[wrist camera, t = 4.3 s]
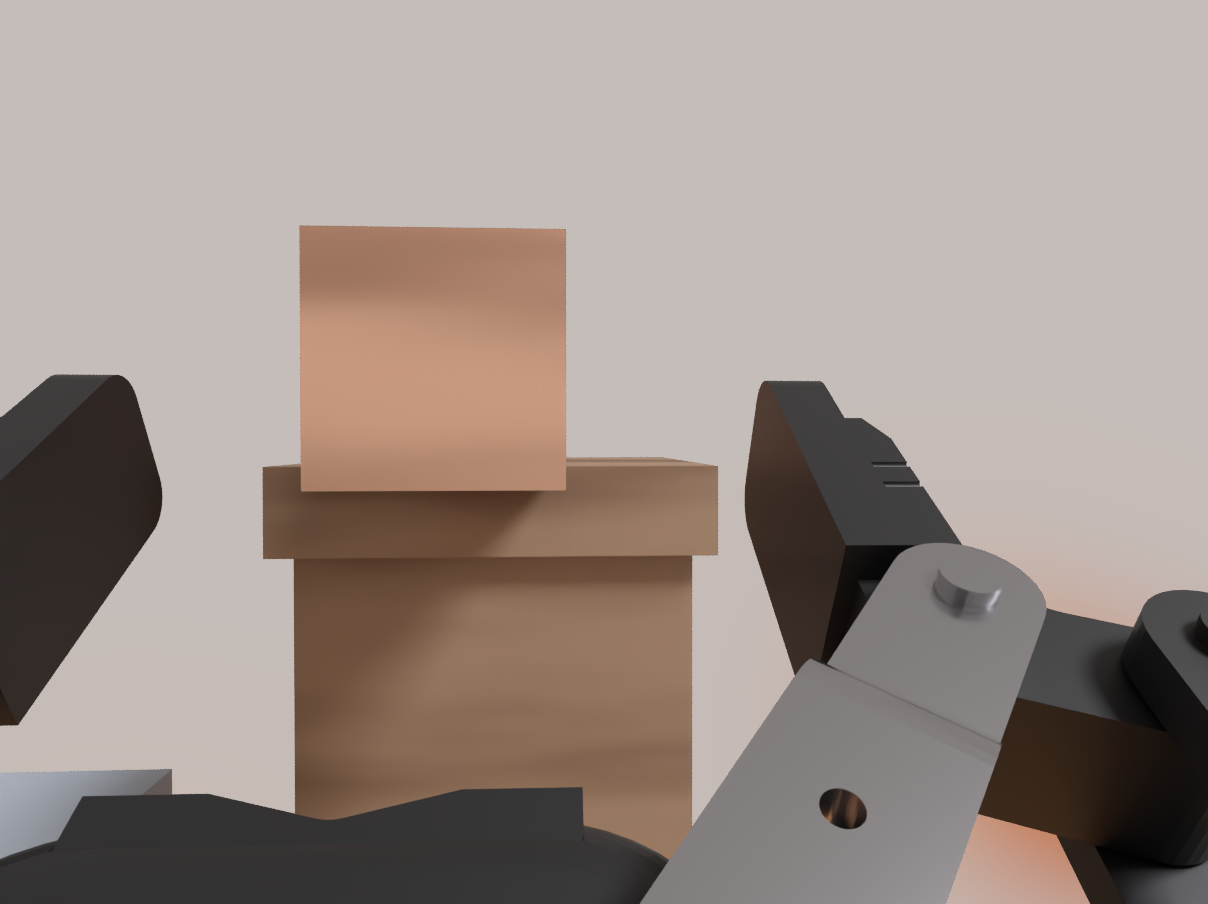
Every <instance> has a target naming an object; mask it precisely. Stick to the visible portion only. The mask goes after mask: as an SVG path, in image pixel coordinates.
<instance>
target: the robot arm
mask: <svg viewBox="0 0 1208 904" xmlns="http://www.w3.org/2000/svg"><path fill="white" fill-rule="evenodd" d="M906 463H907V462H906V460H905V459H904V457H903V456H902V454H901V453H900V451H899V450H898V448H897V447H896V446H895V444H894V442H893V441H892V440H891V438H889V437H888V436H886V435H885V434H884V433H882V432H880V431H879V430H878V429H876V428H875V427H873V426H872V425H870V424H869V423H868V422H866V421H865V420H863V419H862V418H844V417H843V415H842V413H841V411H840V410H839V408H838V406H837V405H836V403H835V402H834V400H833V398H832V396H831V395H830V393H829V391H828V390H827V388H826V387H825V385H824V384H823V383H822V382H821V381H764V382H763V383H762V384H761V387H760V389H759V393H758V398H757V403H756V411H755V418H754V425H753V433H752V440H751V448H750V454H749V462H748V469H747V476H746V485H745V514H746V522H747V527H748V531H749V534H750V537H751V540H752V543H753V546H754V550H755V553H756V556H757V559H758V562H759V565H760V568H761V571H762V575H763V578H764V581H765V584H766V587H767V590H768V593H769V596H770V600H771V603H772V606H773V609H774V612H775V615H776V618H777V621H778V624H779V628H780V631H781V634H782V637H783V640H784V643H785V646H786V649H787V652H788V656H789V659H790V662H791V665H792V668H793V671H794V674H795V677H794V678H793V680H792V681H791V683H790V684H789V685H788V687H787V689H786V690H785V691H784V693H783V694H782V696H781V697H780V699H779V700H778V702H777V703H776V705H775V706H774V708H773V709H772V710H771V712H770V713H769V715H768V716H767V718H766V719H765V721H764V722H763V724H762V725H761V727H760V728H759V730H758V731H757V732H756V734H755V735H754V737H753V738H752V740H751V741H750V743H749V744H748V746H747V747H746V749H745V750H744V751H743V753H742V754H741V756H740V758H739V759H738V760H737V762H736V763H735V765H734V767H733V768H732V769H731V771H730V772H729V774H728V775H727V776H726V778H725V780H724V781H723V782H722V784H721V785H720V787H719V788H718V790H717V791H716V793H715V794H714V795H713V797H712V798H711V800H710V802H709V803H708V804H707V806H706V807H705V809H704V810H703V812H702V813H701V815H700V816H699V817H698V819H697V821H696V822H695V823H694V825H693V826H692V828H691V829H690V831H689V832H688V834H687V835H686V837H685V838H684V839H683V841H682V842H681V844H680V845H679V847H678V848H677V850H676V851H675V853H674V854H673V856H672V857H671V858H670V860H669V859H667V858H666V857H664V856H663V855H661V854H659V853H657V852H655V851H653V850H651V849H649V848H647V847H645V846H643V845H641V844H639V843H637V842H635V841H633V840H631V839H628V838H625V837H622V836H620V835H617V834H614V833H611V832H608V831H605V830H601V829H597V828H593V827H589V826H585V825H584V821H583V787H558V788H503V789H461V790H457V791H453V792H449V793H445V794H441V795H436V796H432V797H428V798H424V799H420V800H416V801H411V802H407V803H403V804H399V805H395V806H391V807H386V808H382V809H378V810H374V811H370V812H366V813H361V814H357V815H353V816H349V817H345V818H340V819H334V820H323V819H316V818H311V817H307V816H302V815H298V814H294V813H289V812H285V811H280V810H276V809H272V808H267V807H263V806H259V805H254V804H250V803H246V802H241V801H237V800H232V799H228V798H223V797H219V796H215V795H211V794H178V795H176V794H175V795H120V796H82V798H81V799H80V801H79V803H78V805H77V807H76V808H75V810H74V812H73V814H72V815H71V817H70V819H69V821H68V823H67V824H66V826H65V828H64V830H63V831H62V833H61V835H60V837H59V839H58V840H57V841H53V842H49V843H45V844H42V845H39V846H35V847H32V848H29V849H26V850H23V851H20V852H17V853H14V854H11V855H9V856H6V857H4V858H1V859H0V904H946V902H947V899H948V897H949V893H950V891H951V888H952V885H953V882H954V880H955V877H956V874H957V871H958V868H959V865H960V862H961V860H962V857H963V854H964V851H965V848H966V846H967V843H968V840H969V837H970V834H971V831H972V829H973V826H974V823H975V820H976V817H977V815H978V814H981V815H984V816H988V817H991V818H995V819H999V820H1003V821H1006V822H1011V823H1014V824H1018V825H1021V826H1025V827H1029V828H1033V829H1037V830H1040V831H1044V832H1048V833H1051V834H1055V835H1057V837H1058V839H1059V841H1060V843H1061V845H1062V847H1063V849H1064V851H1065V853H1066V855H1067V858H1068V860H1069V862H1070V864H1071V865H1072V867H1073V870H1074V872H1075V874H1076V876H1077V878H1078V880H1079V882H1080V884H1081V886H1082V888H1083V890H1084V892H1085V894H1086V896H1087V898H1088V900H1089V902H1090V904H1208V593H1206V592H1200V591H1190V590H1173V591H1167V592H1162V593H1159V594H1157V595H1155V596H1153V597H1151V598H1150V599H1148V601H1147V602H1146V603H1145V605H1144V606H1143V608H1142V611H1141V613H1140V615H1139V617H1138V619H1137V621H1136V623H1135V625H1134V627H1129V626H1124V625H1119V624H1114V623H1110V622H1104V621H1100V620H1095V619H1091V618H1086V617H1080V616H1076V615H1071V614H1066V613H1062V612H1058V611H1054V610H1051V609H1048V608H1046V602H1045V599H1044V597H1043V594H1042V592H1041V591H1040V590H1039V588H1038V586H1037V585H1036V584H1035V583H1034V582H1033V581H1032V580H1031V579H1030V578H1029V577H1028V576H1027V575H1026V574H1025V573H1024V572H1022V571H1021V570H1020V569H1019V568H1017V567H1015V566H1014V565H1012V564H1011V563H1009V562H1008V561H1006V560H1004V559H1001V558H1000V557H998V556H996V555H993V554H991V553H988V552H986V551H983V550H979V549H976V548H973V547H969V546H964V545H962V544H961V542H960V541H959V539H958V538H957V537H956V535H955V533H954V532H953V530H952V529H951V527H950V526H949V525H948V523H947V521H946V520H945V519H944V517H943V516H942V514H941V513H940V511H939V510H938V508H937V507H936V505H935V504H934V502H933V501H932V499H931V498H930V496H929V495H928V493H927V492H926V490H925V489H924V487H920V485H919V482H920V481H919V480H918V478H917V477H916V475H915V474H914V472H913V471H912V470H911V468H910V467H907V466H906ZM161 507H162V487H161V482H160V477H159V474H158V470H157V467H156V463H155V460H154V457H153V453H152V449H151V446H150V443H149V439H148V436H147V432H146V429H145V425H144V422H143V418H142V415H141V411H140V408H139V404H138V401H137V397H136V395H135V392H134V390H133V387H132V386H131V384H130V383H129V381H128V380H126V379H125V378H124V377H123V376H120V375H53V376H51V377H49V378H48V379H46V380H45V381H44V382H43V383H42V384H40V385H39V386H38V387H37V388H36V389H34V390H33V391H32V392H31V393H30V394H29V395H27V396H26V397H25V398H24V399H23V400H22V401H20V402H19V403H18V404H17V405H16V406H14V407H13V408H12V409H11V410H9V411H8V412H7V413H6V414H5V415H4V416H2V417H0V726H2V725H18V724H19V723H20V721H21V720H22V719H23V717H24V716H25V714H26V713H27V711H28V710H29V709H30V707H31V706H32V704H33V703H34V701H35V700H36V699H37V697H38V696H39V694H40V693H41V691H42V690H43V688H44V687H45V685H46V684H47V683H48V681H49V680H50V679H51V677H52V676H53V674H54V673H55V671H56V670H57V668H58V667H59V666H60V664H61V663H62V661H63V660H64V658H65V657H66V656H67V654H68V653H69V651H70V650H71V648H72V647H73V646H74V644H75V643H76V641H77V640H78V638H79V637H80V635H81V634H82V633H83V631H84V630H85V628H86V627H87V626H88V624H89V623H90V621H91V620H92V618H93V617H94V615H95V614H96V613H97V611H98V610H99V608H100V607H101V605H102V604H103V603H104V601H105V600H106V598H107V597H108V595H109V594H110V592H111V591H112V590H113V588H114V587H115V585H116V584H117V583H118V581H119V580H120V578H121V576H122V575H123V574H124V572H125V571H126V570H127V568H128V567H129V565H130V564H131V562H132V561H133V560H134V558H135V557H136V555H137V554H138V552H139V551H140V550H141V548H142V546H143V545H144V543H145V542H146V541H147V540H148V538H149V537H150V535H151V534H152V532H153V531H154V529H155V527H156V526H157V523H158V521H159V517H160V513H161Z"/></svg>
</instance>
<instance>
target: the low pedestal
mask: <svg viewBox="0 0 1208 904" xmlns="http://www.w3.org/2000/svg"><path fill="white" fill-rule="evenodd" d="M120 795H172V769H160V770H115V771H69V772H22V773H0V859H1V858H4V857H6V856H9V855H11V854H14V853H17V852H20V851H23V850H26V849H29V848H32V847H35V846H39V845H42V844H45V843H49V842H53V841H57V840H58V839H59V837H60V835H61V833H62V831H63V830H64V828H65V826H66V824H67V823H68V821H69V819H70V817H71V815H72V814H73V812H74V810H75V808H76V807H77V805H78V803H79V801H80V799H81V798H82V796H120Z"/></svg>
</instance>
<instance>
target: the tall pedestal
mask: <svg viewBox="0 0 1208 904" xmlns="http://www.w3.org/2000/svg"><path fill="white" fill-rule="evenodd" d="M692 555H718V466H713V465H707V464H701V463H694V462H688V461H681V460H675V459H668V458H662V457H661V458H660V457H659V458H658V457H649V458H648V457H639V458H638V457H637V458H631V457H630V458H629V457H628V458H627V457H622V458H566V490H536V491H301V464H294V465H282V466H271V467H263V559H294V665H295V666H294V674H295V675H294V677H295V678H294V679H295V682H294V685H295V686H294V687H295V814H298V815H302V816H307V817H311V818H316V819H323V820H334V819H340V818H345V817H349V816H353V815H357V814H361V813H366V812H370V811H374V810H378V809H382V808H386V807H391V806H395V805H399V804H403V803H407V802H411V801H416V800H420V799H424V798H428V797H432V796H436V795H441V794H445V793H449V792H453V791H457V790H461V789H503V788H558V787H583V821H584V825H585V826H589V827H593V828H597V829H601V830H605V831H608V832H611V833H614V834H617V835H620V836H622V837H625V838H628V839H631V840H633V841H635V842H637V843H639V844H641V845H643V846H645V847H647V848H649V849H651V850H653V851H655V852H657V853H659V854H661V855H663V856H664V857H666V858H667V859H669V860H670V858H671V857H672V856H673V854H674V853H675V851H676V850H677V848H678V847H679V845H680V844H681V842H682V841H683V839H684V838H685V837H686V835H687V834H688V832H689V831H690V829H691V828H692Z"/></svg>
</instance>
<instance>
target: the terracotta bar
mask: <svg viewBox="0 0 1208 904" xmlns="http://www.w3.org/2000/svg"><path fill="white" fill-rule="evenodd" d="M300 399H301V400H300V405H301V406H300V409H301V491H536V490H566V229H515V228H514V229H513V228H440V227H437V228H436V227H366V226H300Z"/></svg>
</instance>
